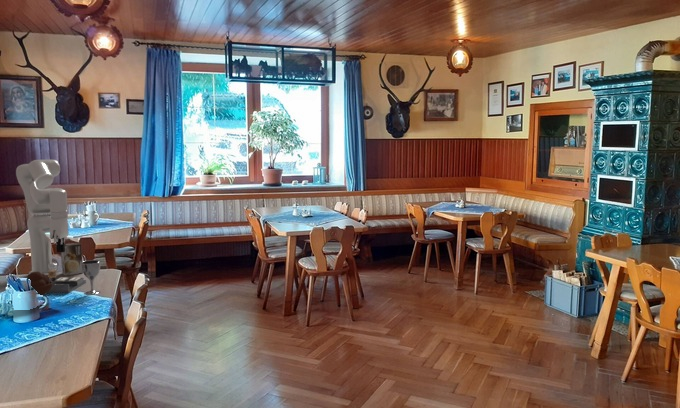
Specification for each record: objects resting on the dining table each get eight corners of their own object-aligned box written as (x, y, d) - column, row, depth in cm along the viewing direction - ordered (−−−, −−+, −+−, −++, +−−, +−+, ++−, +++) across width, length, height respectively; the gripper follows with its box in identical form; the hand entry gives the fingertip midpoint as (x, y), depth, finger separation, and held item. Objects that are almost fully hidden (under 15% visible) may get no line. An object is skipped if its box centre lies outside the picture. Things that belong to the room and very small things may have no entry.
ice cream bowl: (45, 308, 223) (43, 274, 221) (19, 308, 223) (17, 274, 222) (59, 301, 234) (57, 268, 232) (34, 300, 234) (32, 268, 232)
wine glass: (104, 290, 251) (103, 260, 249) (95, 295, 243) (94, 264, 241) (89, 290, 251) (87, 259, 250) (79, 294, 244) (77, 263, 242)
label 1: (61, 278, 260) (61, 277, 260) (68, 278, 260) (68, 277, 260) (56, 280, 255) (56, 280, 255) (63, 280, 255) (63, 280, 255)
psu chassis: (55, 282, 264) (54, 267, 263) (85, 282, 264) (85, 267, 263) (35, 293, 245) (35, 277, 244) (68, 293, 246) (67, 277, 245)
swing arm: (48, 269, 258) (48, 263, 257) (57, 268, 259) (57, 262, 259) (47, 278, 242) (47, 271, 241) (57, 277, 244) (57, 270, 243)
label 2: (73, 278, 260) (73, 277, 260) (80, 278, 260) (80, 277, 260) (68, 280, 255) (68, 280, 255) (76, 280, 256) (76, 280, 255)
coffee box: (79, 270, 287) (78, 242, 285) (83, 273, 283) (81, 244, 281) (61, 273, 281) (60, 244, 279) (64, 275, 277) (63, 246, 275)
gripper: (58, 212, 261) (60, 248, 263) (43, 217, 246) (45, 255, 248) (73, 213, 261) (75, 248, 264) (59, 217, 247) (61, 255, 249)
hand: (60, 251), depth 256 cm, fingers closed
